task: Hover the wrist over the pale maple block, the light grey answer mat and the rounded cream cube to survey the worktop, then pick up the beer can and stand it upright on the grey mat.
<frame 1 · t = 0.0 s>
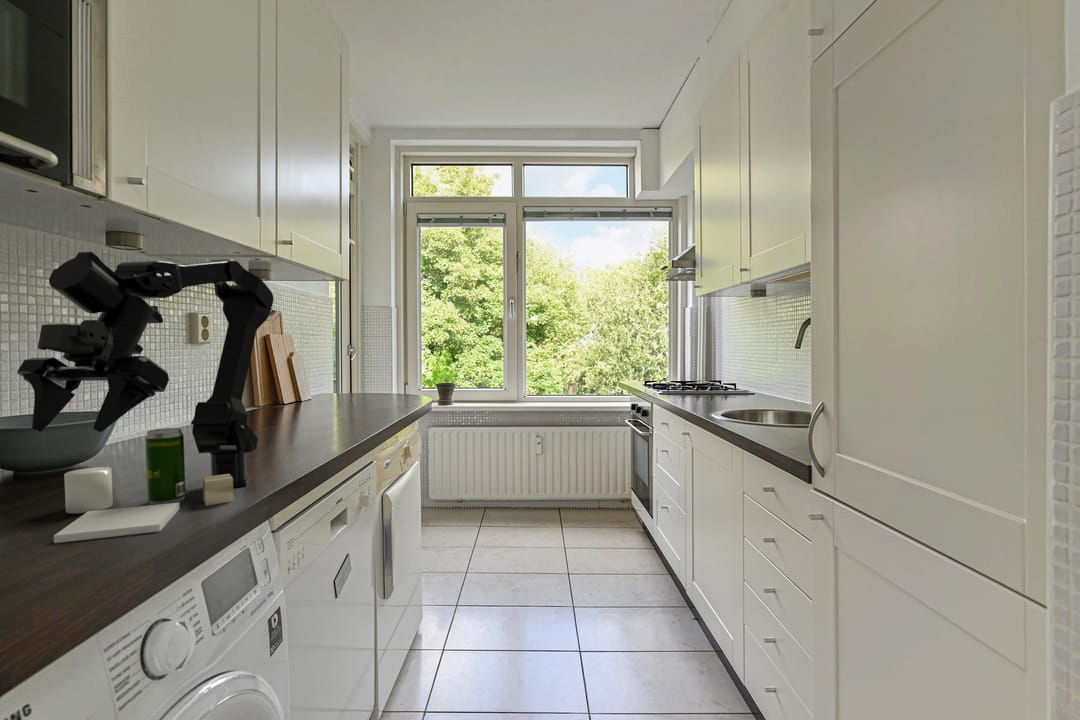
hand: (66, 430, 76), 15 cm above the countertop, tool tilted 35°, fingers open, 9 cm apart
rounded cream cube: (89, 508, 93), on the countertop
beer can: (167, 502, 96), on the countertop
maple block: (218, 501, 96), on the countertop
answer mat: (122, 524, 84), on the countertop
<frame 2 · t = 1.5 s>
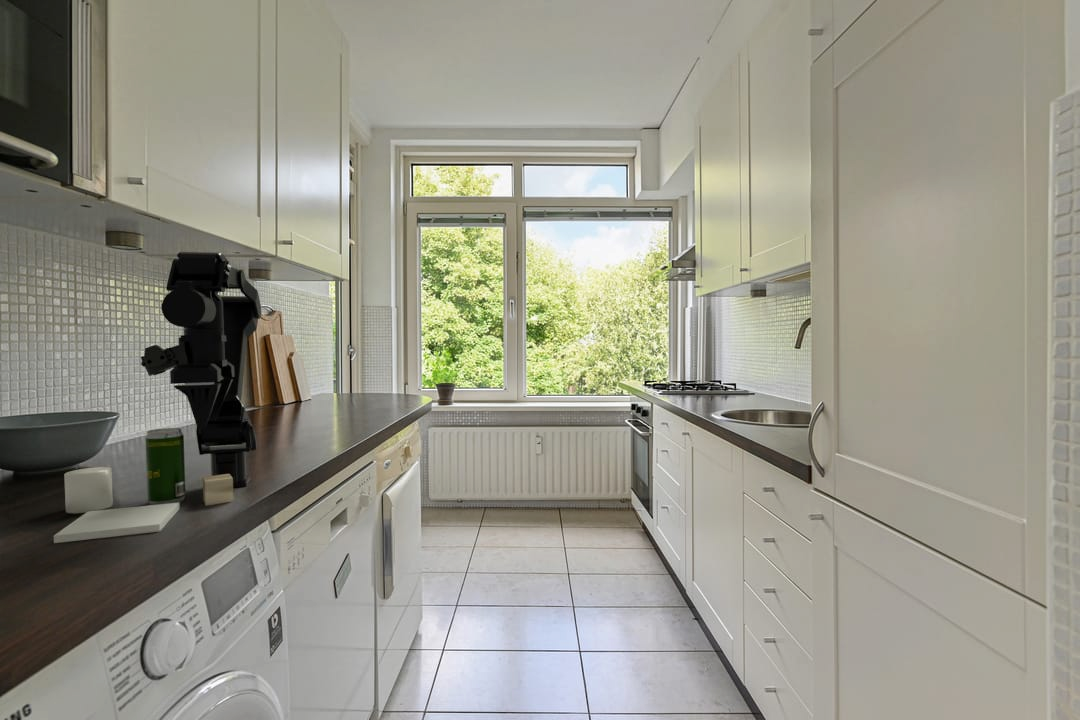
hand: (207, 424, 95), 13 cm above the countertop, tool pointing down, fingers open, 9 cm apart
nothing on the countertop moved.
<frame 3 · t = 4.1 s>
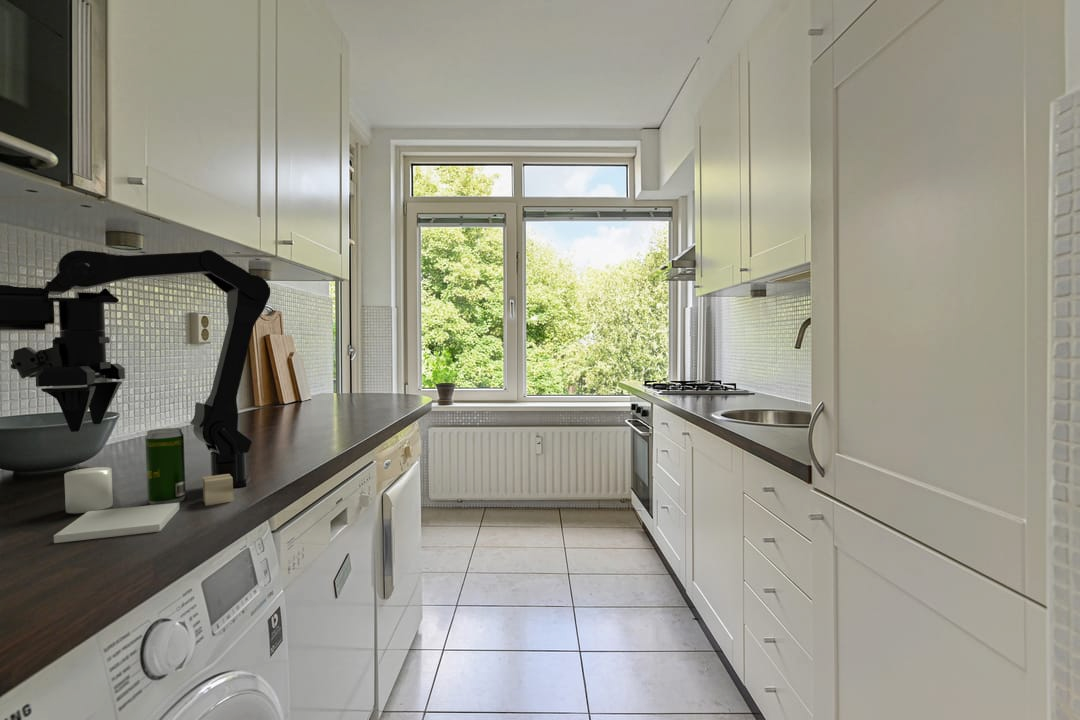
hand: (86, 427, 93), 13 cm above the countertop, tool pointing down, fingers open, 9 cm apart
nothing on the countertop moved.
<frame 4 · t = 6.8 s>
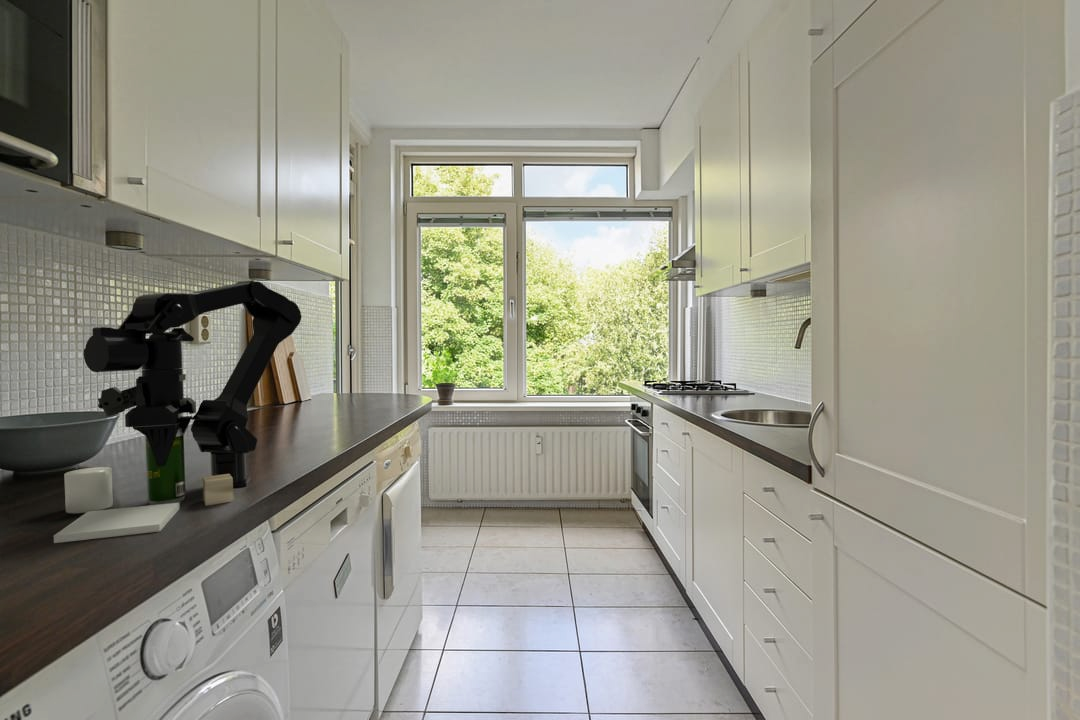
hand: (165, 462, 96), 7 cm above the countertop, tool pointing down, fingers closed on beer can, 5 cm apart
beer can: (167, 502, 96), on the countertop, touching gripper
everything else where it was.
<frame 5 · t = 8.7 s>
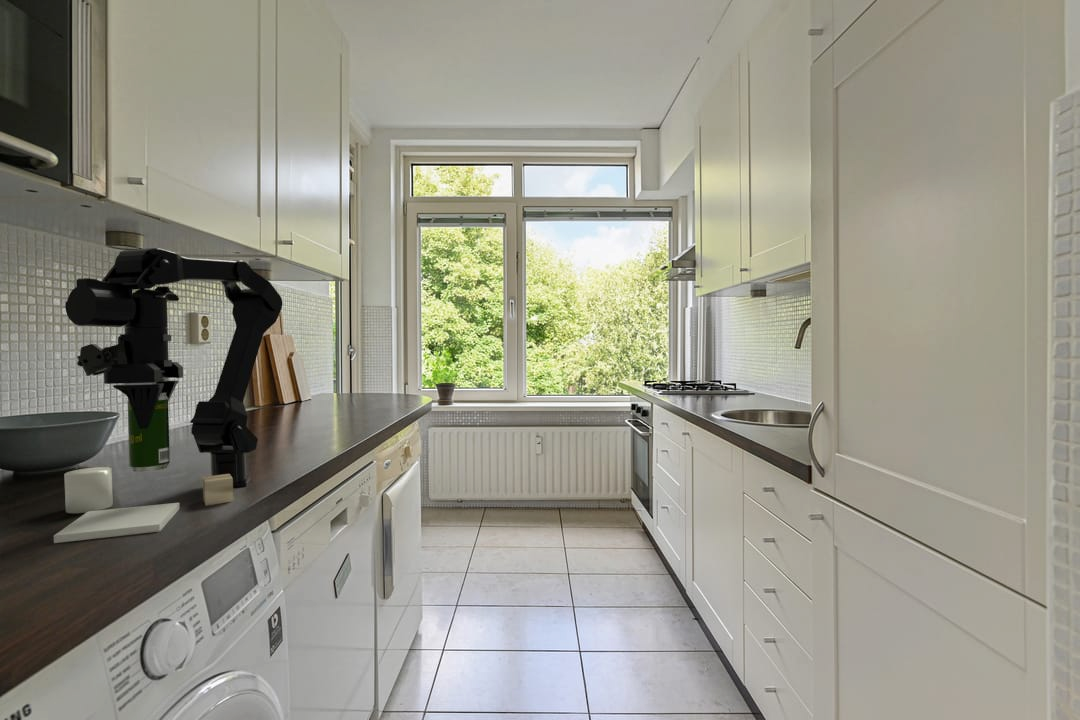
hand: (149, 426, 92), 13 cm above the countertop, tool pointing down, fingers closed on beer can, 5 cm apart
beer can: (150, 469, 92), point 6 cm above the countertop, touching gripper
everything else where it was.
when the fingers open (9 cm above the countertop, at t = 10.6 s): beer can stays where it is, resting on answer mat.
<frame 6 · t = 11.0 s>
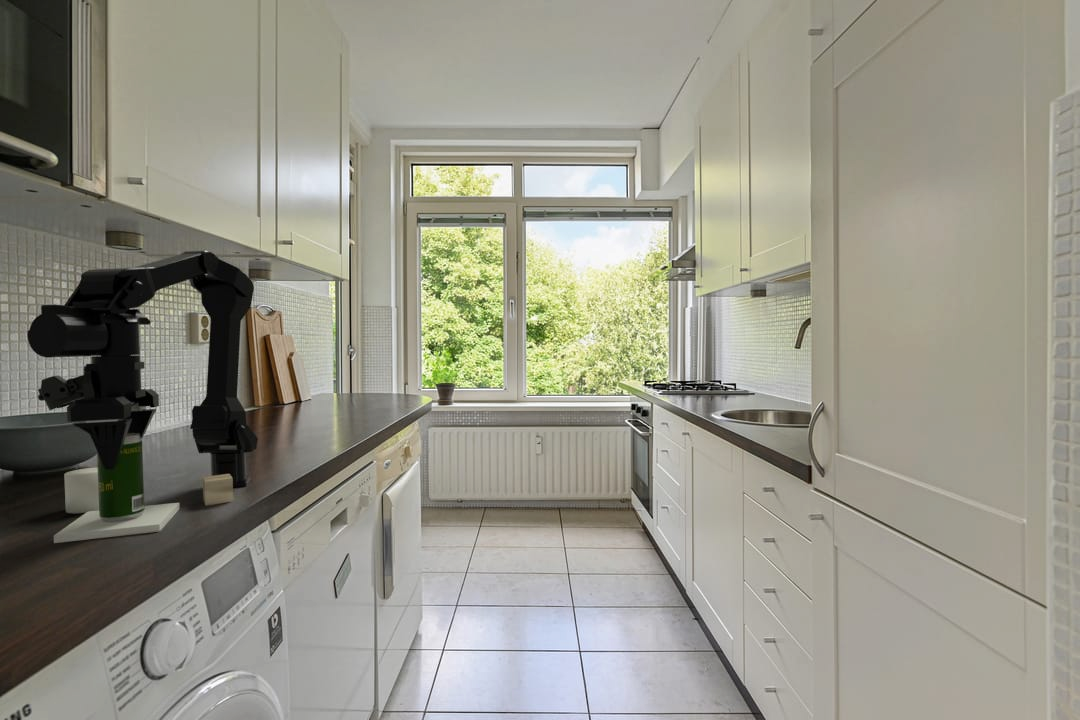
hand: (120, 463, 84), 9 cm above the countertop, tool pointing down, fingers open, 9 cm apart
beer can: (122, 518, 84), point 1 cm above the countertop, touching answer mat
everything else where it was.
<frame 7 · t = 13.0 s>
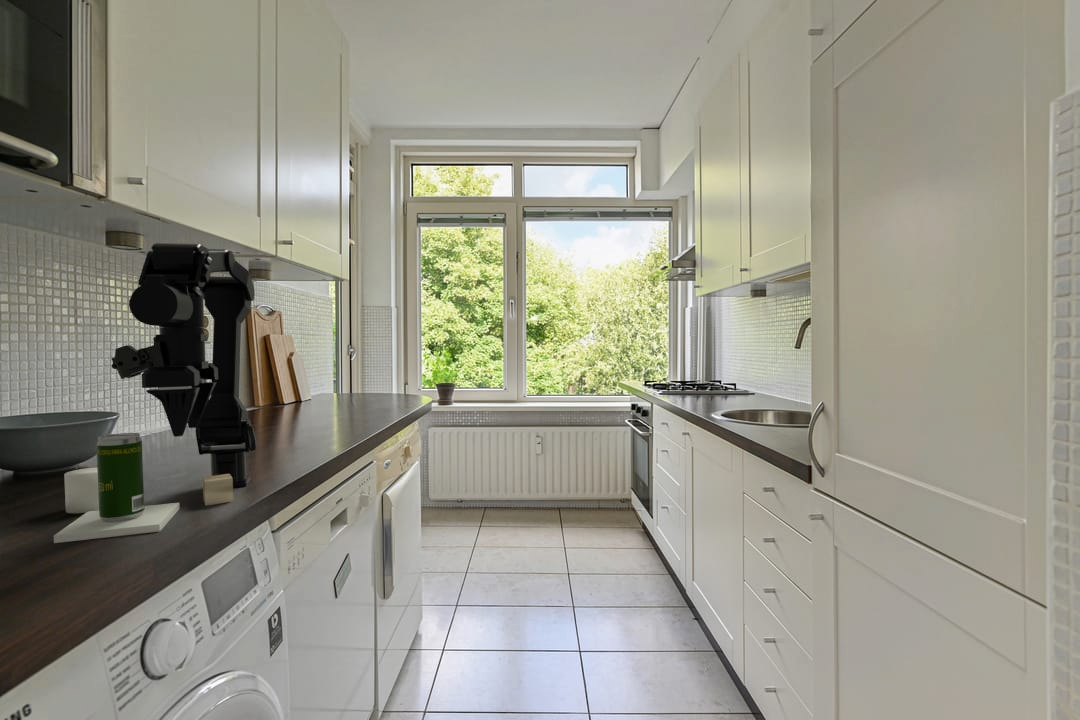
hand: (185, 431, 87), 13 cm above the countertop, tool pointing down, fingers open, 9 cm apart
nothing on the countertop moved.
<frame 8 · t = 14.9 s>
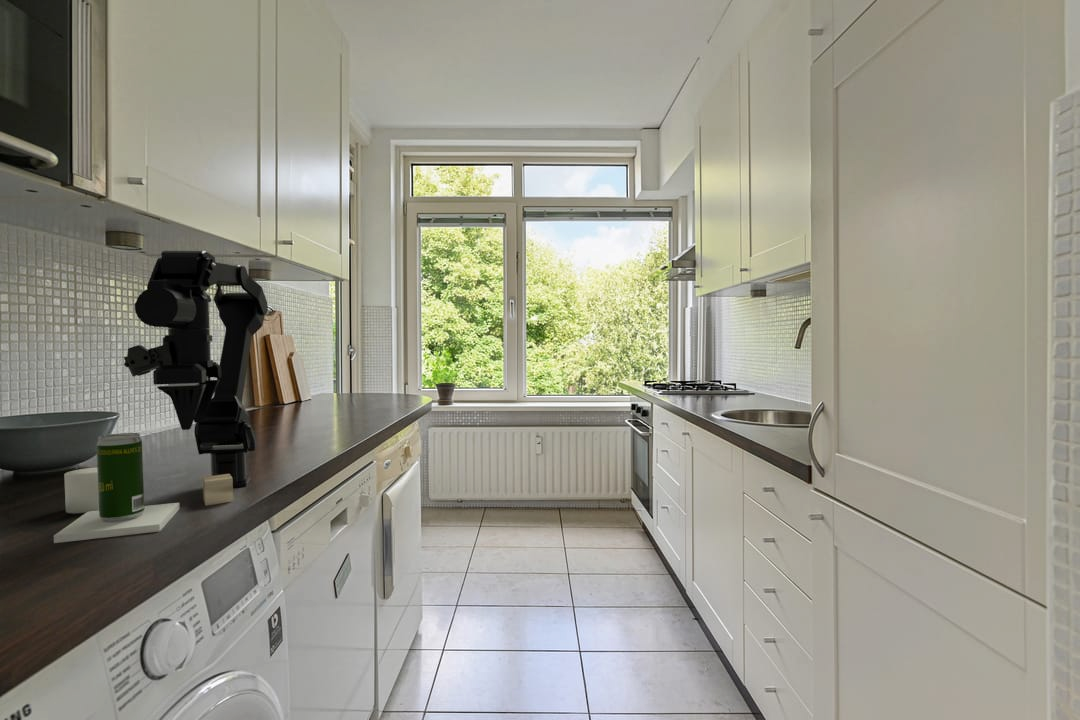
hand: (192, 425, 93), 13 cm above the countertop, tool pointing down, fingers open, 9 cm apart
nothing on the countertop moved.
at the end: beer can inside the target area on the answer mat (0.1 cm from its centre), point 0.8 cm above the answer mat's base; beer can tilted 0°; the gripper is holding nothing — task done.
